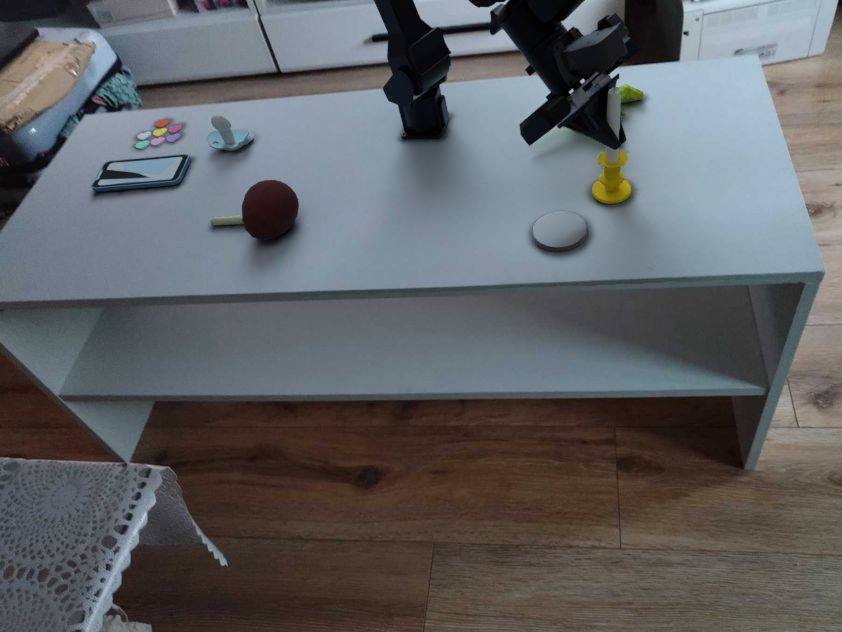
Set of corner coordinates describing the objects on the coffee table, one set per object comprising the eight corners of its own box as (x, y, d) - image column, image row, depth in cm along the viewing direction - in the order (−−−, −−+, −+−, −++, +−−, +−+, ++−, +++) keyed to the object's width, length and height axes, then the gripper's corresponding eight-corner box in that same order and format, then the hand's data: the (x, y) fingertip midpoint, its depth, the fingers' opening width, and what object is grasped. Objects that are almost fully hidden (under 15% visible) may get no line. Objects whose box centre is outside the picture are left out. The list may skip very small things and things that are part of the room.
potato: (300, 215, 104) (315, 202, 99) (261, 255, 100) (275, 243, 95) (261, 177, 101) (275, 161, 96) (220, 216, 97) (232, 202, 92)
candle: (598, 207, 93) (599, 102, 81) (586, 184, 96) (586, 79, 84) (636, 199, 93) (643, 92, 81) (623, 175, 96) (628, 70, 84)
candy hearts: (134, 151, 120) (133, 150, 119) (141, 126, 125) (140, 124, 124) (179, 141, 119) (179, 140, 119) (184, 116, 125) (184, 115, 124)
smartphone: (177, 181, 110) (88, 189, 112) (180, 186, 111) (92, 193, 113) (190, 153, 115) (105, 160, 116) (193, 158, 116) (108, 165, 117)
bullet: (215, 221, 103) (265, 218, 102) (213, 227, 103) (263, 224, 101) (211, 215, 102) (262, 212, 101) (209, 221, 102) (259, 218, 100)
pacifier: (223, 134, 119) (207, 154, 115) (208, 100, 114) (191, 120, 110) (262, 133, 117) (247, 154, 113) (248, 99, 112) (232, 120, 109)
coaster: (529, 251, 90) (528, 246, 89) (536, 214, 94) (536, 210, 93) (584, 252, 88) (584, 248, 87) (589, 215, 92) (589, 211, 92)
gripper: (532, 42, 73) (621, 161, 76) (628, -34, 81) (705, 77, 84) (483, 92, 83) (564, 196, 86) (573, 19, 91) (644, 117, 94)
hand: (621, 145), depth 87 cm, fingers closed on candle
